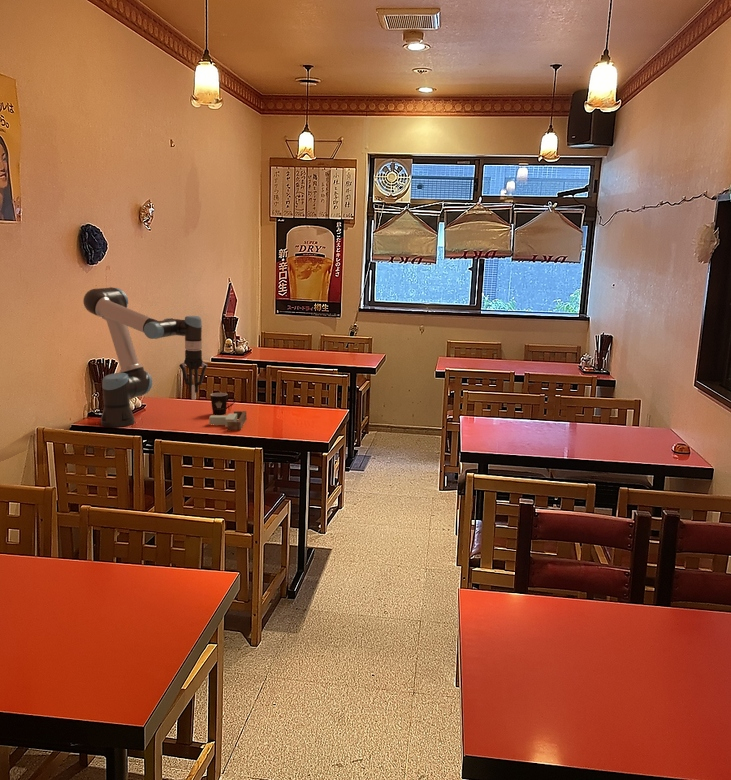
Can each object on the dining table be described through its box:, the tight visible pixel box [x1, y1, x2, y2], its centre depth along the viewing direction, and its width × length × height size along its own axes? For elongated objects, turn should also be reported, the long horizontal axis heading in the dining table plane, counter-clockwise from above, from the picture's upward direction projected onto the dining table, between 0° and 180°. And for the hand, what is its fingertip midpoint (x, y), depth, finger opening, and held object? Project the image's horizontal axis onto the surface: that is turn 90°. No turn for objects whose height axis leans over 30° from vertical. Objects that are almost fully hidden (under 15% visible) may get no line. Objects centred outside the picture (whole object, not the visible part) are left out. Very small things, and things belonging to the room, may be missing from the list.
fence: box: [227, 410, 248, 431], centre depth 331 cm, size 6×22×4 cm, turn 3°
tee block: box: [208, 413, 238, 427], centre depth 331 cm, size 12×12×4 cm
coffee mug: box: [209, 392, 236, 415], centre depth 352 cm, size 12×9×10 cm
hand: (193, 399), depth 328 cm, fingers closed
